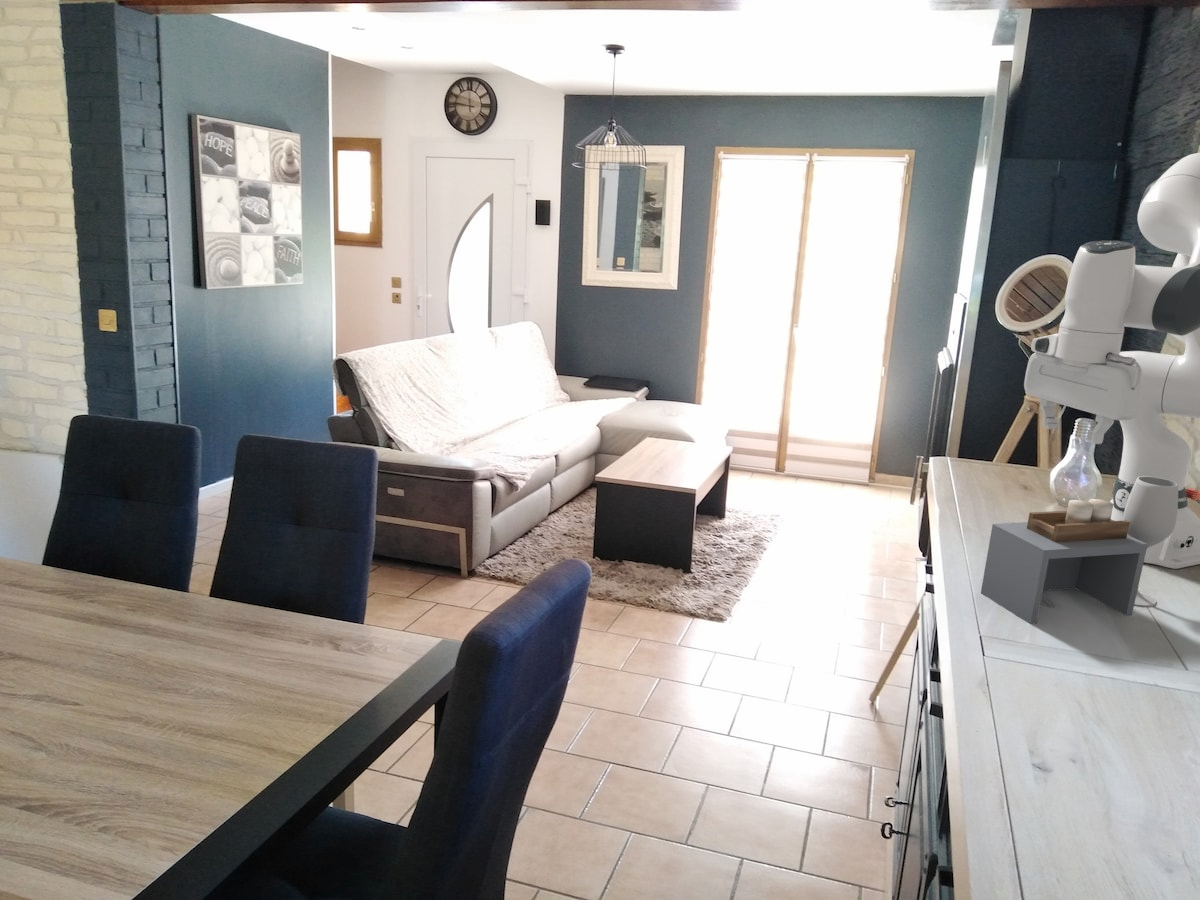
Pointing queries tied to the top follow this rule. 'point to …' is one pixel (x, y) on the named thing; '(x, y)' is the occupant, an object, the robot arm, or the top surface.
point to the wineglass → (1151, 516)
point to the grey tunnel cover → (1059, 569)
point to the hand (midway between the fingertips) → (1070, 435)
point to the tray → (1074, 529)
